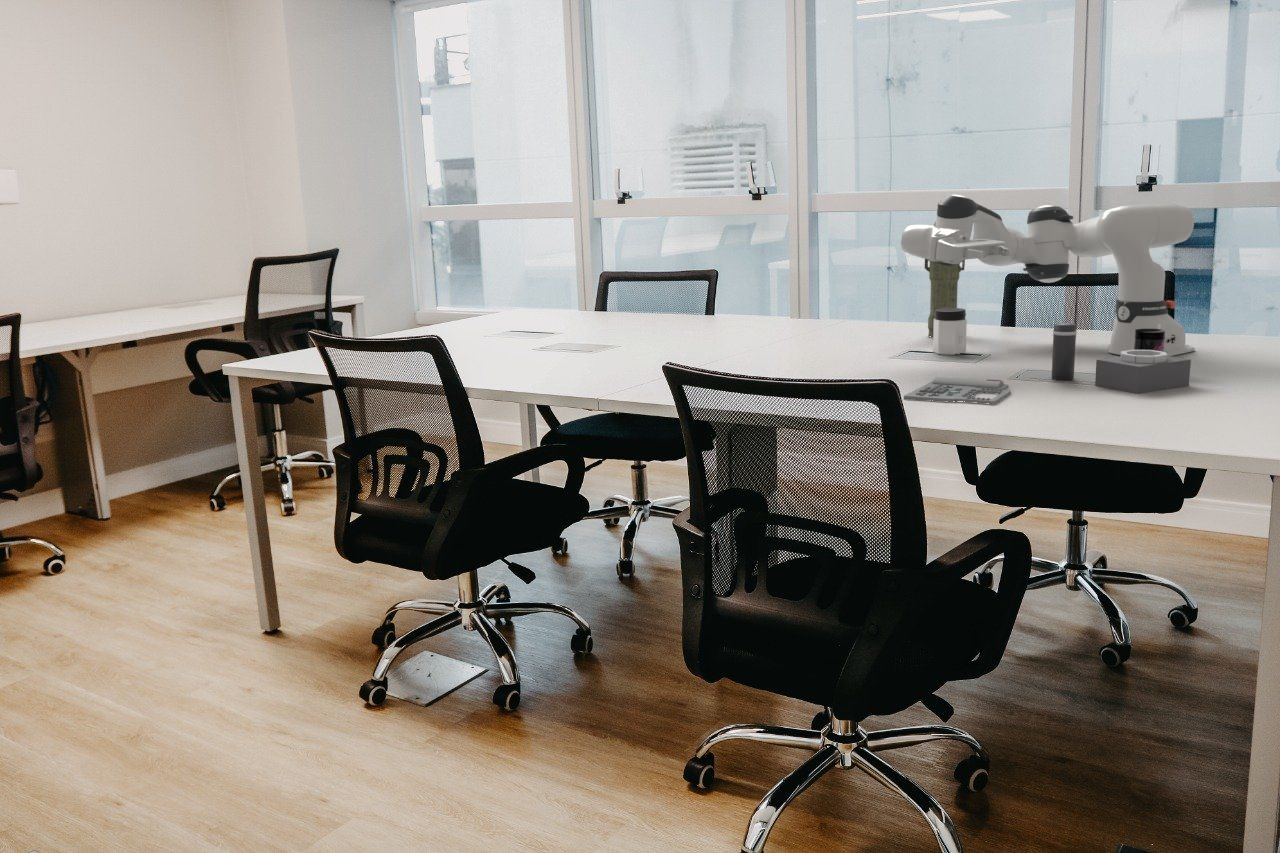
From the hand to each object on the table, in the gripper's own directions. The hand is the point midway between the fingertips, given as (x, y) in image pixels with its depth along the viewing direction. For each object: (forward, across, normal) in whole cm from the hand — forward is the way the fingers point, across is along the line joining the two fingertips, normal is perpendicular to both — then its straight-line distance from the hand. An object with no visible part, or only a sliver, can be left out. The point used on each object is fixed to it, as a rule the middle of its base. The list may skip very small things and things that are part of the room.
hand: (996, 254), depth 273 cm
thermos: (-42, -34, -34) cm, 64 cm away
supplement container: (+33, -20, -26) cm, 46 cm away
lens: (+24, 0, -26) cm, 35 cm away
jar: (-21, -12, -32) cm, 40 cm away
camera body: (+41, -5, -25) cm, 48 cm away
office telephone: (+18, +30, -28) cm, 45 cm away
